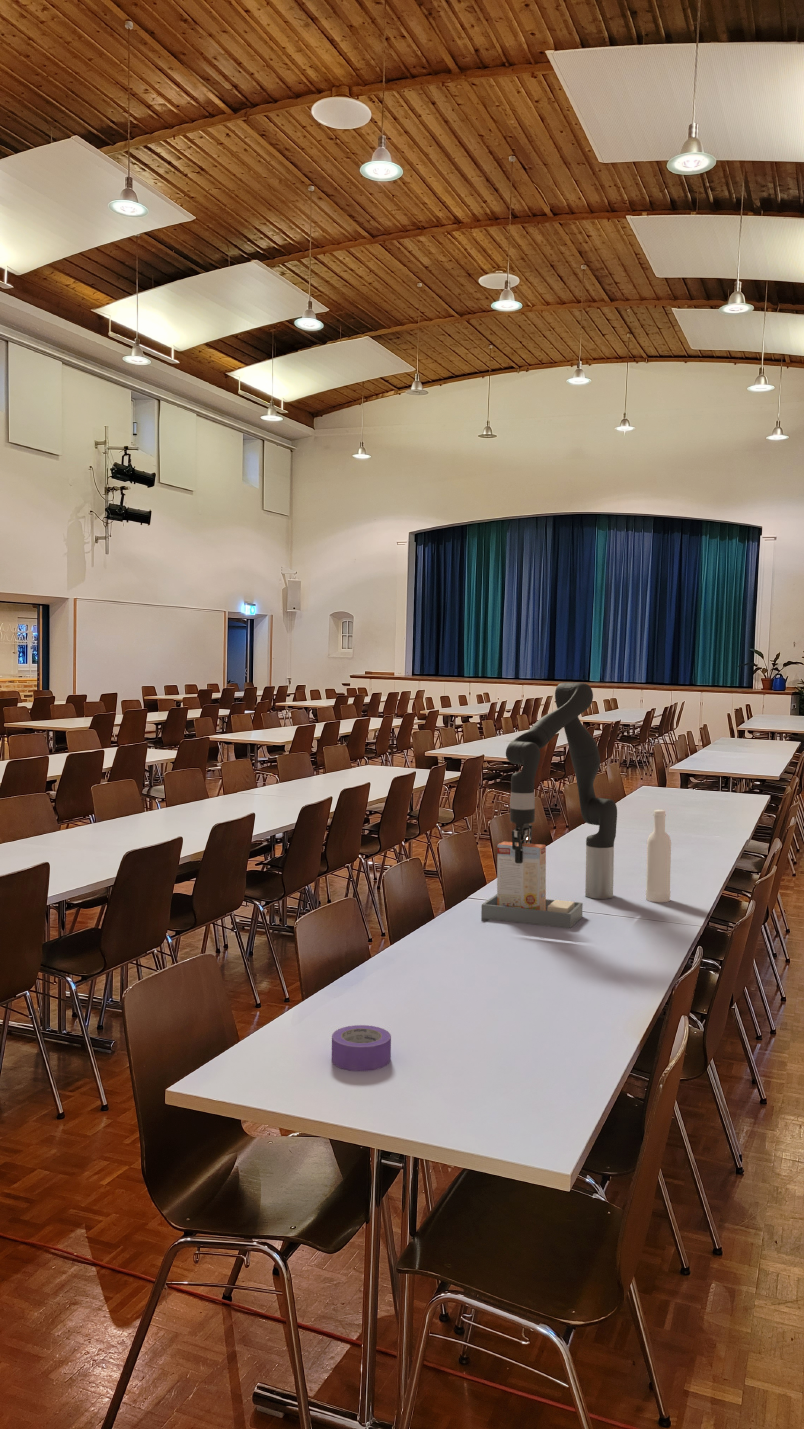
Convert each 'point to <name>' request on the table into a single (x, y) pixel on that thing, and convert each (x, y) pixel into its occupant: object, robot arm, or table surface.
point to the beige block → (561, 906)
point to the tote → (530, 914)
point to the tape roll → (361, 1048)
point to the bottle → (658, 861)
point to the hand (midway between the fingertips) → (521, 860)
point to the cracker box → (521, 877)
